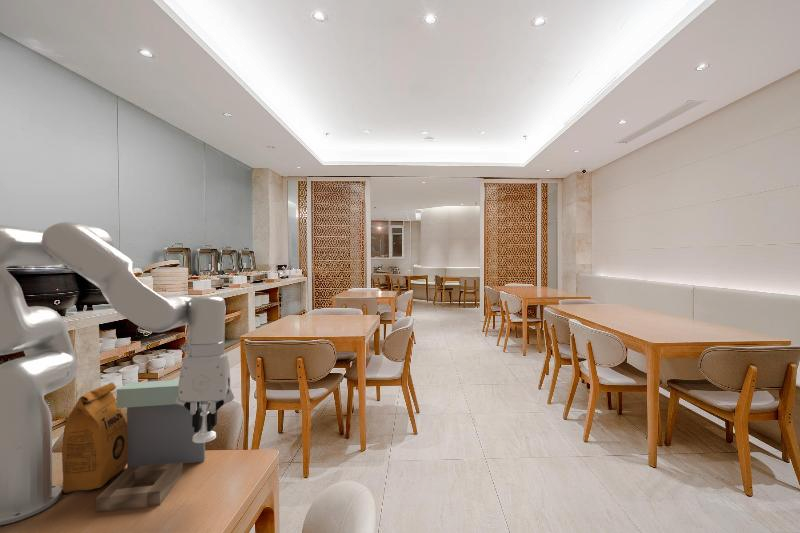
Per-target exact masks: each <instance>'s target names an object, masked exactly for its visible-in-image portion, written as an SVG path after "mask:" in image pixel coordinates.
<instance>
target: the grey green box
mask: <svg viewBox="0 0 800 533" xmlns="http://www.w3.org/2000/svg"><path fill="white" fill-rule="evenodd" d="M178 385H179V379H170V380H152V381H151V380H150V381H135V382H134V381H133V382H128V383H126V384H124V385H123V386H121V387H119V388H116V403H117V408H121V409H123V408H124V409H125V408H126V418H127V465H126V466H127V467H126V469H127V468H128V467H135V466H146V465H157V464H167V463H178V462H183V464H191V463H192V464H193V463H202V462H205V461H206V442H205V443H195V442H193V441H192V439H193V436H194V435H195V434H196V433H199V431H200V430H201V429H200V430H199V431H198V432H194V427H192V414H191V413H190V411H189V410H188V409H187V408H186V407H185V406H182V405H179V404H176V403H175V401H176V399H177V396H178ZM201 403H202V402H200V404H201ZM200 408H201V405H200ZM201 410H202V408H201ZM202 418H203V416H202Z"/></svg>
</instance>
